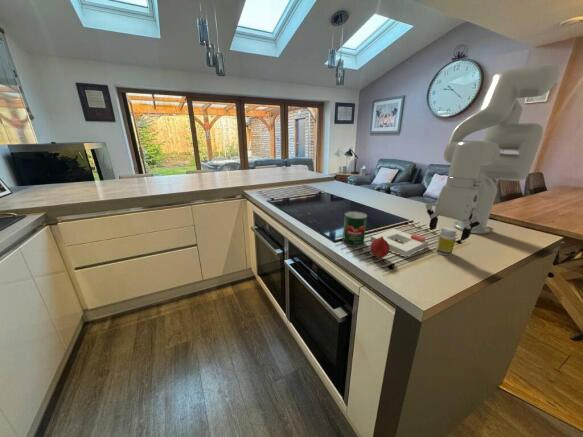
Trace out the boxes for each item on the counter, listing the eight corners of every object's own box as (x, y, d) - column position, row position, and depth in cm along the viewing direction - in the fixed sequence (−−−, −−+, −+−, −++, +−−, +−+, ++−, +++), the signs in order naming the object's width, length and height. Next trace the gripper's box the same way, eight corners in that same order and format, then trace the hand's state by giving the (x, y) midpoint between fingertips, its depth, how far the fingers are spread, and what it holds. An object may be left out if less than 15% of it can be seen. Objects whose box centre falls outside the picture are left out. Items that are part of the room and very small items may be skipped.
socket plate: (392, 234, 96) (394, 226, 94) (427, 247, 85) (429, 238, 83) (370, 242, 88) (371, 234, 87) (405, 258, 77) (406, 248, 76)
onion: (365, 255, 79) (368, 234, 76) (378, 252, 81) (381, 231, 78) (377, 264, 74) (381, 241, 71) (391, 260, 76) (395, 238, 73)
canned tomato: (356, 236, 93) (359, 210, 90) (368, 245, 86) (371, 216, 83) (338, 238, 91) (340, 212, 87) (349, 247, 84) (352, 219, 80)
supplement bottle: (453, 256, 79) (460, 233, 76) (438, 254, 80) (444, 232, 77) (448, 249, 83) (453, 227, 80) (433, 248, 84) (438, 226, 81)
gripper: (499, 187, 68) (482, 241, 74) (437, 178, 82) (427, 224, 87) (490, 189, 64) (472, 246, 70) (426, 179, 78) (416, 227, 83)
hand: (447, 234), depth 78 cm, fingers open, 9 cm apart
